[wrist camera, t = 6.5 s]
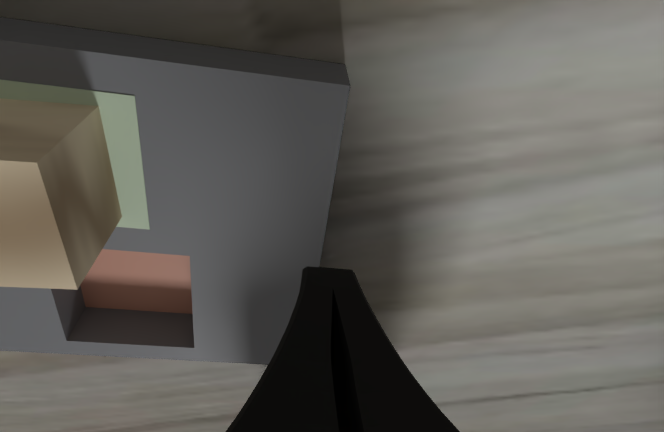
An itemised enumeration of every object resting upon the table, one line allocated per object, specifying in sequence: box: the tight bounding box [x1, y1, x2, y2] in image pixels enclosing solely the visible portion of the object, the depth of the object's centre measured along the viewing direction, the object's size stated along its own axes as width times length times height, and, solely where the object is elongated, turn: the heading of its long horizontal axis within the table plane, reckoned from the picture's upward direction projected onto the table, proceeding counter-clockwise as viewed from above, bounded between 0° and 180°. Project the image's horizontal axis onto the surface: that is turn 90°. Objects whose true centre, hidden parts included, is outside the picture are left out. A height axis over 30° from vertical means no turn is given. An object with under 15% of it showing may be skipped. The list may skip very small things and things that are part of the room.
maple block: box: [0, 98, 122, 290], centre depth 14 cm, size 4×4×4 cm
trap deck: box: [0, 17, 350, 365], centre depth 18 cm, size 15×21×2 cm
